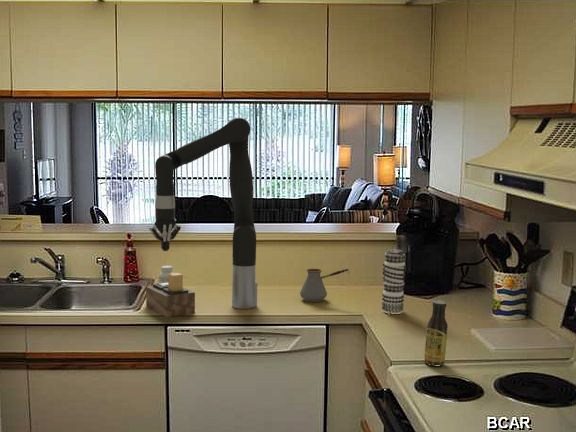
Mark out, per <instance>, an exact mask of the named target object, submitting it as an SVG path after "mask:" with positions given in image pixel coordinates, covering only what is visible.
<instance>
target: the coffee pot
mask: <svg viewBox="0 0 576 432" xmlns="http://www.w3.org/2000/svg"><path fill="white" fill-rule="evenodd" d="M306 272H307V276H306V278H305V279H304V280H305V281H304V283H303V285H302V286H301V289H300V291H299V295H300V297H301V298H302V299H303V300H304V301H305V300H306V301H305V302H308V301H309V303H320V301H321V302H323V300H324V299H326V298H327V296H328V291H327V289H326V287H325V284H324V282H323V280H322V279H325V278H328V277H333V276H337V275H339V274H342V273H345V272H347V274H348V275H350V273H351V272H350V270H349V268H345V269H342V270H337V271H335V272H332V273H329V274H327V275H322V276H321V274H322V272H323V271H322V269H320V268H308V269H306Z"/></svg>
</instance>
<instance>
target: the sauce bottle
mask: <svg viewBox="0 0 576 432" xmlns="http://www.w3.org/2000/svg"><path fill="white" fill-rule="evenodd" d="M446 308H447V302H446V301H443V300H433V301H432V313H431V317H430V319H429V320H428V323H427V326H426V334H425V343H424V344H425V345H424V356H423V358H424V360H425V361H424V363H425V362H426V363H427V364H430V365H442V364H443V365H444V363H445V361H446V349H447V340H448V339H447V338H448V328H449V326H448V322H447V320H446ZM426 363H425V364H426ZM427 364H426V365H427ZM430 365H429V366H430ZM443 365H442V366H443Z"/></svg>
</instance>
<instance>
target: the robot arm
mask: <svg viewBox="0 0 576 432" xmlns="http://www.w3.org/2000/svg"><path fill="white" fill-rule="evenodd" d="M250 134H251V125H250V123H249V122H248V120H247V119H245V118H243V117H239V116H238V117H237V116H236V117H234V118H232V119H230V120H229V121H228V123H226V124H224V125H223V126H222V127H221V128H219V129H216V130H215V131H213V132H212V133H209V134H207V135H205V136H202V137H200V138H197V139H194V140H192V141H190V142H188V143H185V144H184V145H182V146H180V147H178V148H176V149H175V150H173V151H172V150H171V151H170V152H168V153H165V154H163V155H161V156H159V157H158V158H157V159H156V161H155V165H154V166H155V167H154V169H155V170H154V171H155V181H156V183H155V200H154V202H155V203H154V207H155V210H154V211H155V212H154V214H155V215H154V216H155V217H154V219H155V221H154V225H153V226H152V227H149V231H150V233H151V234H152V235H153V236H154V237H155V239H156V240H157V241H160V246H161V250H162V251H163V252H168V251H169V249H170V241H172V240H174V239H175V238H176V237H177V235H178V234H179V232H180V231H181V227H182V226H179V225H177V224H176V199H175V184H174V172H175V170H176V169H178V168H180V167H182V166H184V165H188V164H190V163H193V162H194V161H196V160H199V159H201V158H202V157H204V156H207V155H208V154H209V153H212V152H214V151H215V150H217V149H220V148H221V147H224V146H226V145H228V147H229V166H228V167H229V169H228V170H229V172H228V173H229V175H228V176H229V190H230V198H231V203H232V207H233V213H234V214H233V216H234V219H233V220H234V221H233V234H232V273H231V274H232V283H231V284H232V285H231V286H232V288H231V291H232V292H231V294H232V295H231V302H232V303H231V307H233V308H234V309H240V310H241V309H242V310H249V309H252V308H255V307H258V282H256V273H257V272H256V269H257V268H256V266H257V263H256V262H257V233H256V232H257V231H256V227H255V223H254V216H253V215H254V214H253V205H254V177H253V170H252V164H251V161H250V154H249V135H250ZM158 232H159V233H158Z"/></svg>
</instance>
